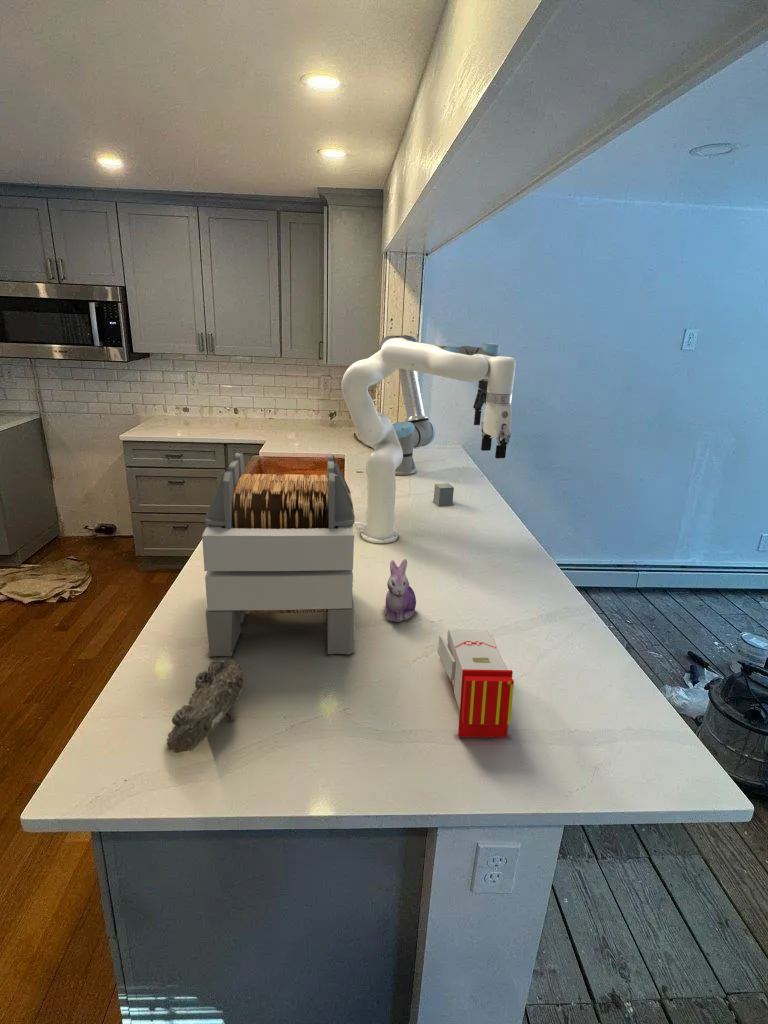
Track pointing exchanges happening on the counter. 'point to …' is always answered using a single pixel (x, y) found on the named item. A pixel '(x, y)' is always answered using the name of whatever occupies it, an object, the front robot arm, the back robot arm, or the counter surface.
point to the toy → (478, 682)
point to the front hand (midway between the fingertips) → (492, 454)
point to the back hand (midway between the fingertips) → (482, 428)
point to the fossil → (206, 705)
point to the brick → (443, 494)
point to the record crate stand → (279, 552)
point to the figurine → (399, 594)
